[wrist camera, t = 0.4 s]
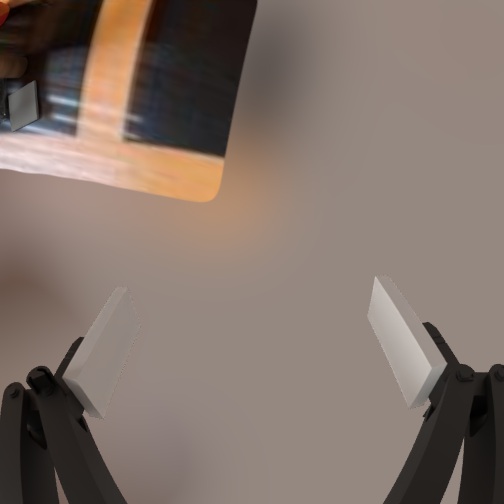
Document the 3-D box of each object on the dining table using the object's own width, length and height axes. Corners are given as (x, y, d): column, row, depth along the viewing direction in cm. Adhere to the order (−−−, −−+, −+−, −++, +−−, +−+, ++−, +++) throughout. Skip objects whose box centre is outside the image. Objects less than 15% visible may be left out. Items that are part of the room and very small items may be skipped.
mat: (10, 95, 31) (8, 96, 30) (36, 80, 30) (34, 80, 30) (13, 131, 34) (11, 132, 33) (39, 118, 33) (37, 118, 33)
